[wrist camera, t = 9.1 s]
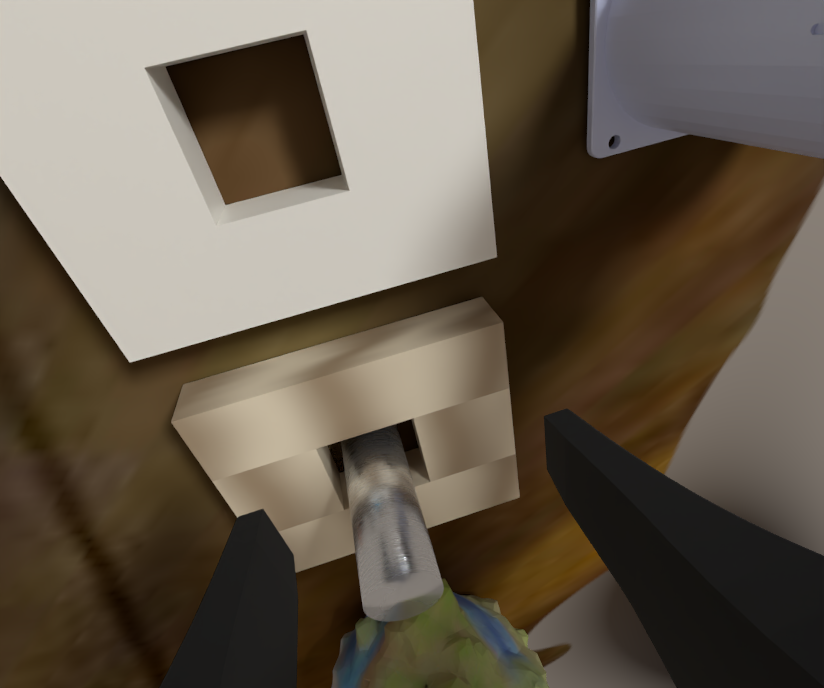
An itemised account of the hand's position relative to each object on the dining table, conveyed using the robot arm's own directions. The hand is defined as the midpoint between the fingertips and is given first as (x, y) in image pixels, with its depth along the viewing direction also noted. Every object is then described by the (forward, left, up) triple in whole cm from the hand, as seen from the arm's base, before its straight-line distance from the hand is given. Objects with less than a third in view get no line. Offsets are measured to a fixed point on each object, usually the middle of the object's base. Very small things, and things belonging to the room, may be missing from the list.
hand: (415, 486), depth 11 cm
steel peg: (+2, +7, -10) cm, 13 cm away
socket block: (+2, -8, -10) cm, 13 cm away
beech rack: (+2, +7, -10) cm, 13 cm away
